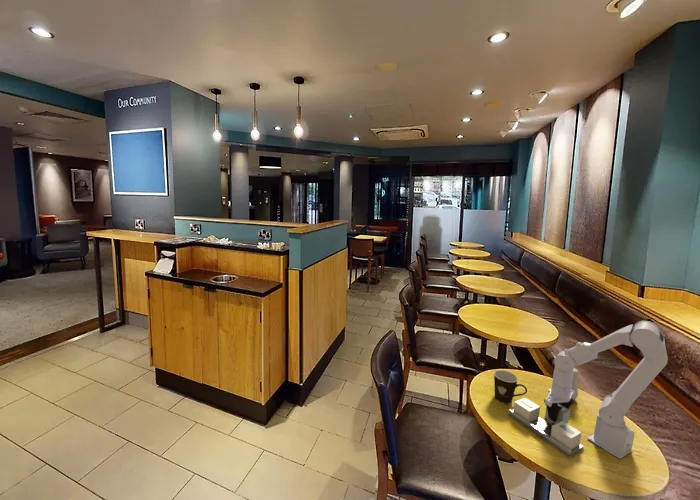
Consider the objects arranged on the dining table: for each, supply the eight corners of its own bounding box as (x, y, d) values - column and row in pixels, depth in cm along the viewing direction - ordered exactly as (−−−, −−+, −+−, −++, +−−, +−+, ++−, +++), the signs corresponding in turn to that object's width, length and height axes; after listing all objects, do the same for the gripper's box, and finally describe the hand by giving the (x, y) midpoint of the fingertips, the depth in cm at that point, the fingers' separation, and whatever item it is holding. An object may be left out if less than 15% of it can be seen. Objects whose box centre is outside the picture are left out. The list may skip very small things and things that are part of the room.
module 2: (579, 444, 104) (581, 432, 104) (569, 450, 102) (571, 438, 101) (560, 432, 110) (562, 420, 109) (550, 437, 107) (552, 425, 106)
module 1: (538, 417, 117) (540, 406, 116) (528, 422, 114) (529, 411, 113) (523, 407, 122) (524, 397, 121) (513, 412, 119) (514, 401, 119)
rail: (583, 449, 104) (584, 443, 104) (569, 457, 100) (570, 451, 100) (521, 408, 123) (522, 403, 123) (507, 414, 120) (508, 409, 119)
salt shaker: (571, 394, 133) (576, 365, 131) (580, 403, 127) (585, 373, 125) (557, 393, 134) (561, 364, 131) (564, 401, 128) (569, 372, 126)
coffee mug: (487, 394, 132) (489, 372, 130) (502, 389, 135) (504, 368, 133) (510, 412, 121) (513, 388, 120) (526, 406, 125) (529, 383, 123)
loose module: (567, 424, 115) (570, 409, 114) (561, 428, 114) (563, 412, 112) (551, 414, 121) (553, 399, 119) (544, 417, 119) (546, 402, 118)
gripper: (562, 373, 121) (557, 405, 124) (538, 383, 115) (533, 416, 117) (582, 383, 115) (576, 416, 117) (558, 394, 108) (553, 429, 111)
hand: (556, 417), depth 117 cm, fingers open, 5 cm apart
